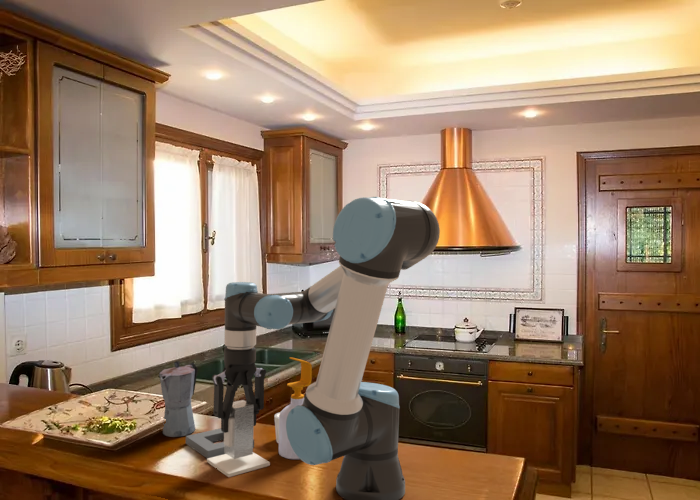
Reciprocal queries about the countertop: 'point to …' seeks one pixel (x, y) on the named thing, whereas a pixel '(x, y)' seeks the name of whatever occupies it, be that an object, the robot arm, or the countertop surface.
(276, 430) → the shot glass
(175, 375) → the moka pot
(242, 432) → the steel peg
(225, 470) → the pad
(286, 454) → the soap bottle
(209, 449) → the socket frame
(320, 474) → the countertop surface
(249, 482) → the countertop surface
